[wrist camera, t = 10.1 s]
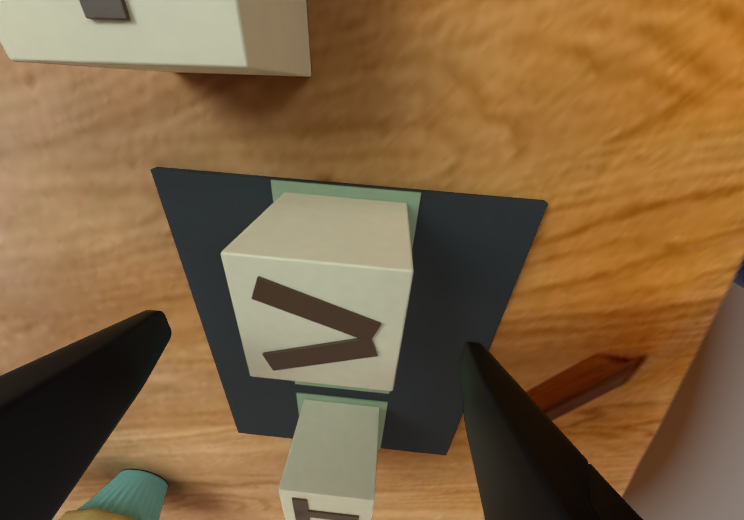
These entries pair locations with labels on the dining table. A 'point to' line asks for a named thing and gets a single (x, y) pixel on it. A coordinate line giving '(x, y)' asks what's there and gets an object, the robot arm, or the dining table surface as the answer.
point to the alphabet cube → (331, 463)
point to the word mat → (425, 307)
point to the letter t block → (161, 35)
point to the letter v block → (323, 289)
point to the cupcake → (125, 499)
